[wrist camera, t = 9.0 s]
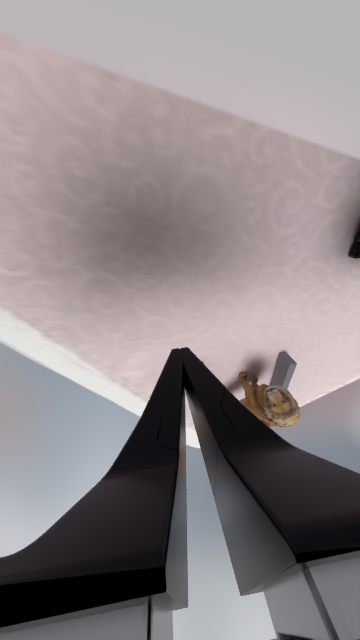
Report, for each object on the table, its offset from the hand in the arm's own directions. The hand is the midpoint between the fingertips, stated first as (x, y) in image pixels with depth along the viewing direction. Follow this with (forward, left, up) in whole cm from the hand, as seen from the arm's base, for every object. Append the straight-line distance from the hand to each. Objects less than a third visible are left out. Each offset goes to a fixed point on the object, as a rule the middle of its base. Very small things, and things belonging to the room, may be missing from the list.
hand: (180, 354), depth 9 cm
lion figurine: (-9, +19, -12) cm, 24 cm away
